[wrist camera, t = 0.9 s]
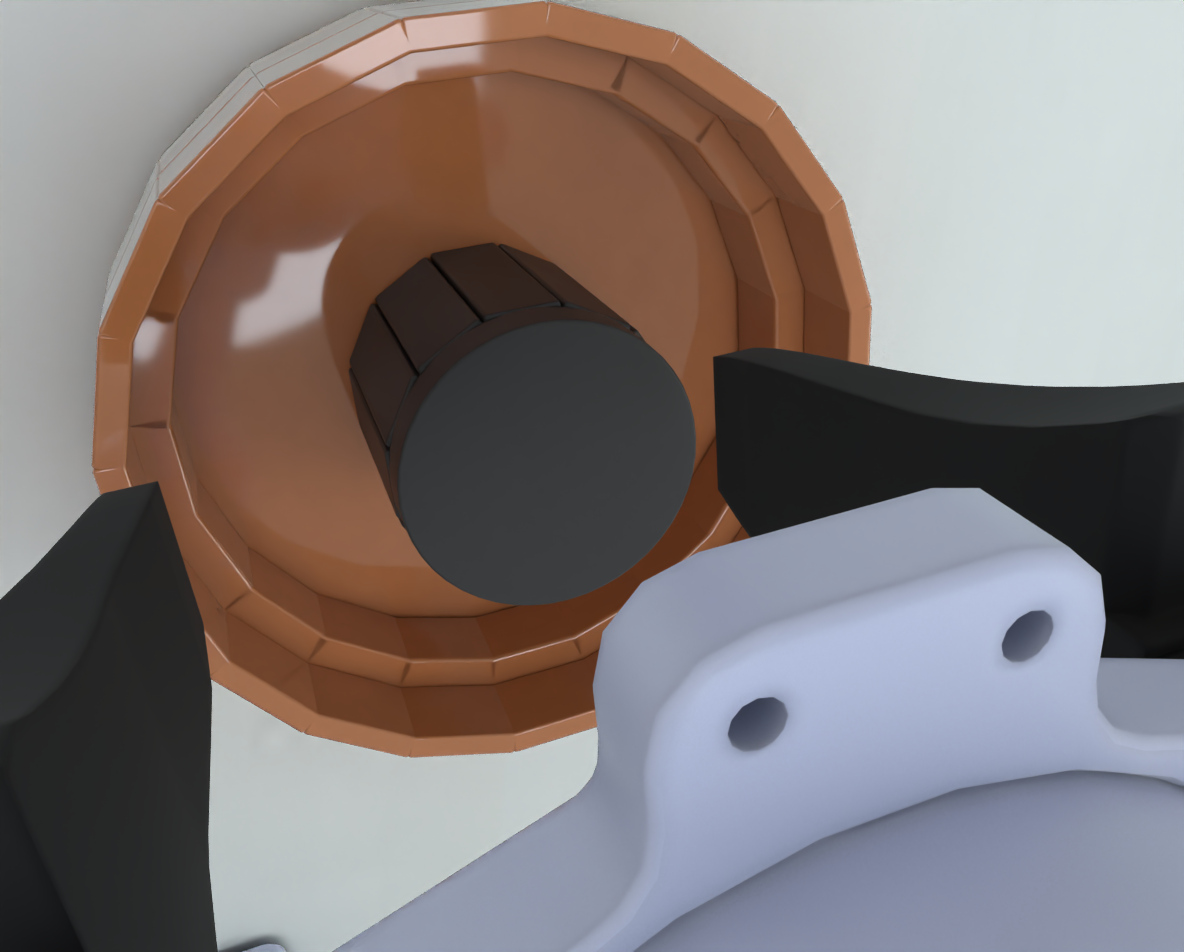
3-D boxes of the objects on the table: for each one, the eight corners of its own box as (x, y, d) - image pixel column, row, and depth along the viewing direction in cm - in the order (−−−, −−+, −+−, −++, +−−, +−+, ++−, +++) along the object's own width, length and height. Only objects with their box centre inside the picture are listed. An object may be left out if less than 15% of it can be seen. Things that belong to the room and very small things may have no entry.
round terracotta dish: (773, 561, 27) (858, 647, 24) (212, 717, 24) (219, 844, 20) (771, -41, 21) (888, -39, 17) (-5, 45, 17) (-48, 68, 14)
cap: (607, 455, 24) (702, 564, 19) (376, 510, 22) (425, 639, 18) (587, 224, 21) (692, 292, 17) (327, 270, 20) (370, 356, 16)
